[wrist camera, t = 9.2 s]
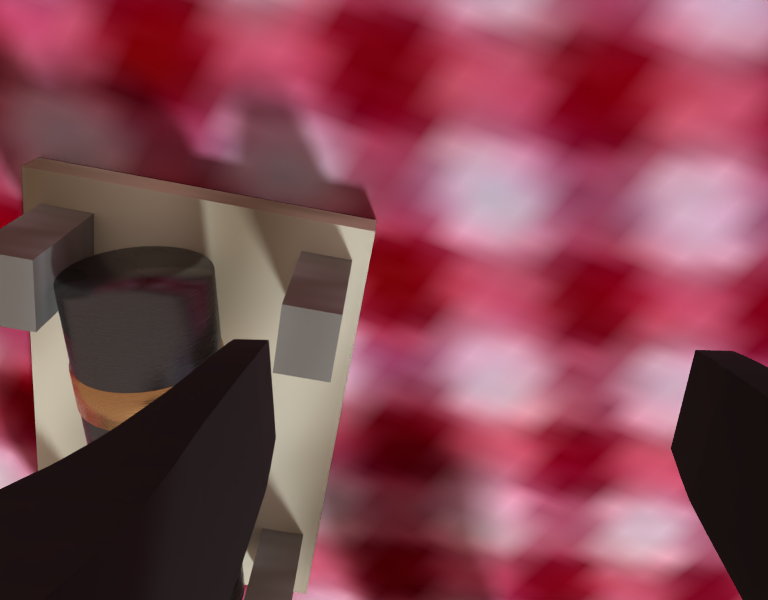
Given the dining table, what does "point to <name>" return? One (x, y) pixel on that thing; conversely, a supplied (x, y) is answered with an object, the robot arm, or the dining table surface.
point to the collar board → (236, 314)
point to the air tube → (136, 331)
